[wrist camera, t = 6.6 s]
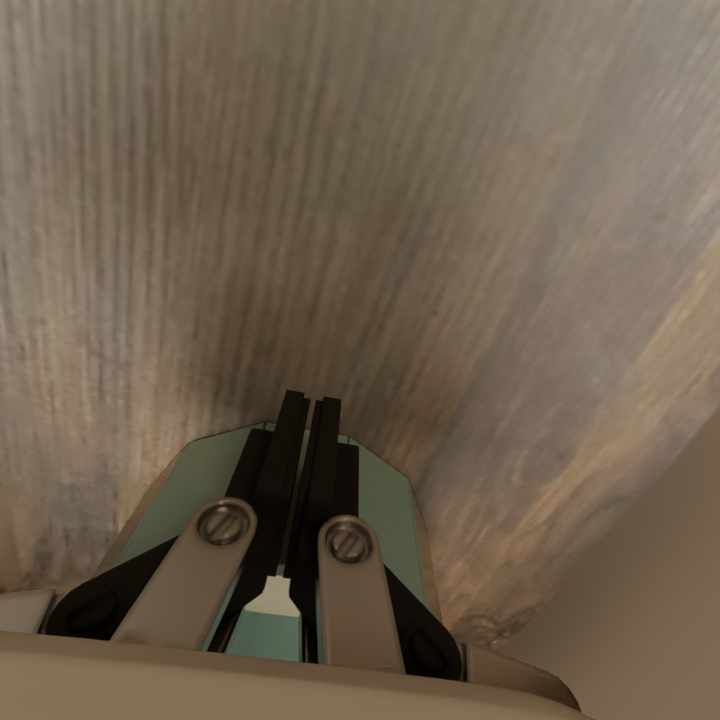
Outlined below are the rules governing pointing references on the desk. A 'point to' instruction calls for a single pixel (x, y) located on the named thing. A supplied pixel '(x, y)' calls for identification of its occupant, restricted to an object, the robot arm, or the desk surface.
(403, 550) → the pan
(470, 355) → the desk surface
